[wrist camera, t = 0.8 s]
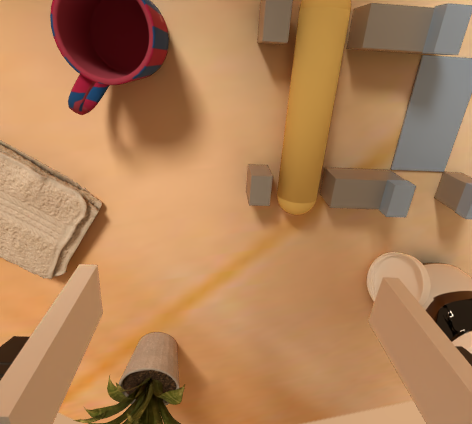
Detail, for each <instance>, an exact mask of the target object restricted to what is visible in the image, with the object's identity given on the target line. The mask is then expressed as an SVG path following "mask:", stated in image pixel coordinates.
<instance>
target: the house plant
mask: <svg viewBox="0 0 472 424" xmlns="http://www.w3.org/2000/svg"><path fill="white" fill-rule="evenodd" d="M116 385H117V387H116V386H114V385H113V384H112V382H111V380H110V375H109V382H108V387H107V390H108V393H109V395H110V397H111V398H112V399H114V400H116V401H118V402H120V403H118V404H117V405H113V406H109V407H104V408H98V409H93V410H86V411H87V412H88V413H89V414H90V416H91V417H93V418H90V419H86V420H74V421H78V422H83V423H89V424H96V423H91V422H95V421H97V420H100V419H104V418H108V417H110V416H112V415H115V414H117V413H119V412H120V411H122V410H123V409H125V408H126V407H127V406H128V405H129V404H132V405H131V406H130V407H129V408H128V409H127V410H126V411H125V412H124V413H123V414H122V415H121V416H119V417H118V418H116V419H115V420H112V421H110V422H108V423H98V424H120V423H121V422H123V421H124V420H125V419H127V420H126V421H125V422H124V423H123V424H163V422H164V424H180V423H179V422H178V421H176V420H175V419H174V418H173V417H172V416H171V414H170V413H169V411H168V410H167V408H166V406H165V405H168V404H169V403H170V404H173V405H176V404H180V402H181V401H182V395H183V391H184V386H185V385H184V386H183V387H182V388H179V371H178V353H177V343H176V341H175V340H174V338H172V337H171V336H170V335H167V334H165V333H161V332H154V333H149V334H147V335H145V336H143V337H142V338H141V339H140V341H139V343H138V345H137V347H136V349H135V351H134V353H133V355H132V357H131V359H130V361H129V363H128V365H127V367H126V369H125V371H124V373H123V375H122V377H121V379H120V382H119V384H117V382H116ZM84 408H85V407H84ZM161 417H162V418H161ZM162 419H163V421H162Z"/></svg>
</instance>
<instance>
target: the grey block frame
mask: <svg viewBox="0 0 472 424" xmlns="http://www.w3.org/2000/svg"><path fill="white" fill-rule="evenodd" d="M292 2H293V0H262V1H261V2H260V15H259V28H258V41H257V43H267V44H284V43H288V37H289V28H290V20H291V11H292ZM471 14H472V5H461V4H444V5H439V6H435V8H428V7H416V6H403V5H390V4H377V3H370V4H367V5H365V6H362V7H359V8H356V9H354V10H353V16H352V21H351V26H350V32H349V37H348V43H347V48H346V49H356V50H371V51H386V52H401V53H416V54H441V55H458V54H459V51H460V48H461V45H462V42H463V39H464V35H465V32H466V29H467V26H468V23H469V20H470V17H471ZM471 94H472V58H459V57H444V56H429V55H422V57H421V61H420V65H419V68H418V72H417V75H416V79H415V83H414V86H413V90H412V93H411V97H410V101H409V104H408V108H407V111H406V115H405V119H404V122H403V126H402V130H401V133H400V137H399V140H398V144H397V148H396V151H395V155H394V158H393V162H392V166H391V170H414V171H439V172H443V175H442V177H441V180H440V183H439V186H438V189H437V192H436V194H435V197H434V198H435V199H437V200H438V201H440V202H442V203H443V204H445V205H446V206H448V207H449V208H451V209H452V210H454V211H455V213H457V214H458V215H460V216H461V217H463V218H465V219H472V178H471V177H469V176H467V175H465V174H463V173H456V172H444V170H445V168H446V165H447V162H448V159H449V156H450V153H451V151H452V148H453V145H454V142H455V139H456V136H457V134H458V131H459V128H460V125H461V122H462V119H463V117H464V114H465V111H466V108H467V105H468V102H469V100H470V97H471ZM272 180H273V176H272V174H271V171H270V169H269V167H268V165H252V164H248V173H247V186H246V194H247V198H248V203H249V205H256V206H270V198H271V189H272ZM415 188H416V186H415V185H414V184H412V183H411V182H409V181H407V180H404V179H403V178H401V177H400V176H398V175H396V174H395V173H393V172H392V171H390V170H379V169H354V168H328V167H325V168H324V174H323V179H322V184H321V190H320V195H321V196H322V198H323V199H324V200H325V202H326V203H327V204H328V206H329V207H330V208H356V209H379V211H380V212H381V213H382V214H384V215H385V216H386V217H406V216H407V213H408V210H409V207H410V204H411V201H412V198H413V195H414V191H415Z"/></svg>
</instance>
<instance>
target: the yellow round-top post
mask: <svg viewBox="0 0 472 424" xmlns="http://www.w3.org/2000/svg"><path fill="white" fill-rule="evenodd" d="M350 12H351V0H302V1H301V4H300V9H299V17H298V25H297V33H296V42H295V50H294V58H293V66H292V75H291V83H290V91H289V99H288V108H287V116H286V124H285V132H284V141H283V149H282V157H281V165H280V173H279V182H278V190H277V199H278V203H279V205H280V206H281V208H282V209H283V210H284V211H286V212H287V213H289V214H293V215H301V214H304V213H307V212H308V211H309V210H311V209H312V208H313V206H314V205H315V203H316V200H317V194H318V189H319V183H320V178H321V172H322V167H323V161H324V156H325V150H326V145H327V139H328V134H329V128H330V122H331V117H332V111H333V106H334V100H335V95H336V89H337V84H338V78H339V73H340V67H341V62H342V56H343V50H344V45H345V39H346V34H347V28H348V23H349V17H350Z"/></svg>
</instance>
